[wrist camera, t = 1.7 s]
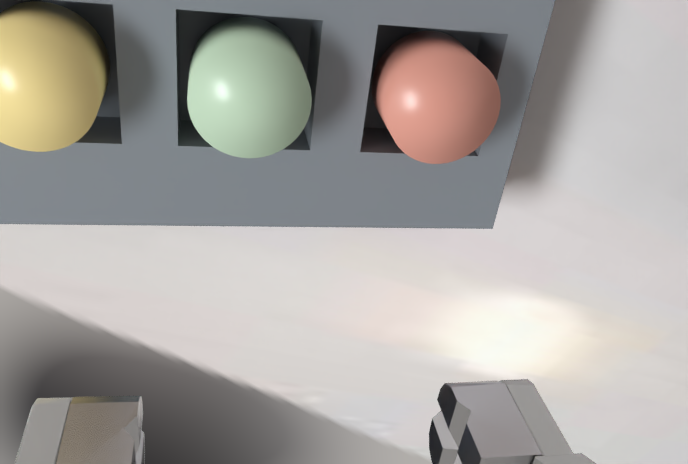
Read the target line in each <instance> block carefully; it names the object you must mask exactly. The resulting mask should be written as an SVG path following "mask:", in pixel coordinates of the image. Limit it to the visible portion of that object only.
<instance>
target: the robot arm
mask: <svg viewBox="0 0 688 464" xmlns="http://www.w3.org/2000/svg"><path fill="white" fill-rule="evenodd" d="M437 400H438V403H439V406H440V408H441V411H440V412H439V413H438V414H437V415H436V416H434V417H433V418H432V422H431V426H430V431H429V450H430V455H431V460H432V464H596V463H595V462H593V461H592V460H590V459H589V458H588V457H586V456H585V455H583V454H582V453H580V454H574V453H573V452H572V450H571V448H570V446H569V445H568V443H567V441H566V440H565V438H564V436H563V434H562V433H561V431H560V429H559V427H558V426H557V424H556V422H555V421H554V419H553V417H552V415H551V414H550V412H549V410H548V408H547V407H546V405H545V403H544V401H543V400H542V398H541V396H540V395H539V393H538V391H537V389H536V388H535V386H534V384H533V383H532V382H531V381H529V380H528V379H521V380H501V381H480V382H460V383H445V384H444V385H443V386H442V387H441V389H440V392H439V396H438V399H437ZM142 417H143V409H142V398H141V396H111V397H110V396H109V397H73V398H38V399H37V400H36V401H35V403H34V404H33V406H32V407H31V411H30V414H29V417H28V421H27V424H26V427H25V431H24V434H23V438H22V441H21V444H20V447H19V451H18V454H17V457H16V461H15V464H144V462H145V442H144V433H143V432H142V431H141V428H142Z"/></svg>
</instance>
